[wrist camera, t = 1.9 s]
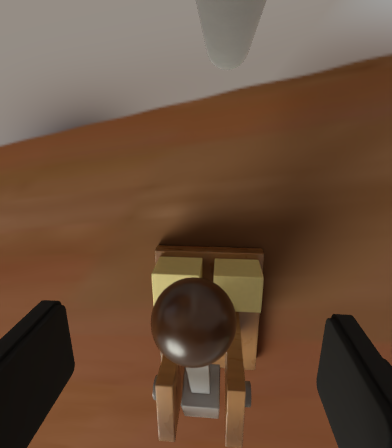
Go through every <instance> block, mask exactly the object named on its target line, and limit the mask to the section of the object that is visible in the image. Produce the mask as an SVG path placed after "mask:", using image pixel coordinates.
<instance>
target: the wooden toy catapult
mask: <svg viewBox="0 0 392 448" xmlns="http://www.w3.org/2000/svg"><path fill="white" fill-rule="evenodd" d="M159 257H189V258H202V278H203V279H207V280H210V281H212V282H213V278H214V261H215V258H218V259H248V260H259V263H260V266H261V270H262V274H263V263H264V252H263V249H262V248H233V247H200V246H166V245H158V246H157V248H156V250H155V262H156V263H157V261H158V259H159ZM259 315H260V313H255V312H236V319H237V325H236V333H235V336H234V339H233V342H232V344H231V346H230V348H229V349H228V350H227V352H226V353H225V354H224V355H223V356H222V357H221V358H220V359H219V360H217V361H216V362H214V363H212V364H219V365H220V368H225V446H226V447H235V448H242V443H243V428H244V413H245V407H251V384H250V381H245V375H244V369H247V370H255V366H256V353H257V340H258V327H259ZM184 368H185V367H183V366H180V365H177V364H175V363H173V362H172V361H170V360H169V359H168V358H166V357H165V356H164V355H163V354H162V353H161V365H160V368H159V372H158V375H156V377H155V380H154V385H153V399H154V400H156V405H157V420H158V435H159V440H160V441H171V442H174V441H175V438H176V431H177V424H178V418H179V411H180V405H181V398H182V389H183V378H184Z"/></svg>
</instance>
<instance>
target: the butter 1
mask: <svg viewBox="0 0 392 448" xmlns="http://www.w3.org/2000/svg"><path fill="white" fill-rule="evenodd" d="M191 277H198V278H202V258H189V257H159V259H158V261H157V263H156V265H155V268H154V270H153V272H152V290H153V306H154V305H155V302H156V300H157V299H158V297H159V295H160V294H161V293H162V292H163V291H164V290H165V289H166V288H167V287H168V286H169V285H171V284H172V283H174V282H176V281H178V280H181V279H184V278H191Z"/></svg>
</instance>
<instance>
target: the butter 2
mask: <svg viewBox="0 0 392 448" xmlns="http://www.w3.org/2000/svg"><path fill="white" fill-rule="evenodd" d="M263 281H264V278H263V274H262V270H261V266H260V263H259V260H248V259H218V258H215V261H214V278H213V282H214V283H215V284H217V285H219V286H220V287H221V288H222V289H223V290H224V291H225V292H226V293H227V295H228V296H229V298H230V299H231V301H232V303H233V306H234V308H235V312H255V313H261V306H262V293H263Z"/></svg>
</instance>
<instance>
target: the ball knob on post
mask: <svg viewBox="0 0 392 448" xmlns="http://www.w3.org/2000/svg"><path fill="white" fill-rule="evenodd" d="M236 325H237V319H236V312H235V308H234V306H233V303H232V301H231V299H230V298H229V296H228V295H227V293H226V292H225V291H224V290H223V289H222V288H221V287H220V286H219V285H217V284H215V283H214V282H212V281H210V280H207V279H203V278H198V277H191V278H184V279H181V280H178V281H176V282H174V283H172V284H171V285H169V286H168V287H167V288H166V289H165V290H164V291H163V292H162V293H161V294H160V295H159V297H158V299H157V300H156V302H155V305H154V307H153V310H152V315H151V330H152V335H153V338H154V341H155V343H156V345H157V347H158V348H159V350H160V351H161V353H162V354H163V355H164V356H165V357H166V358H168V359H169V360H170V361H172V362H173V363H175V364H177V365H180V366H183V367H185V368H184V378H183V389H182V399H181V407H182V410H183V412H184V415H185V416H193V417H205V418H219V403H220V365H219V364H212V363H214V362H216V361H217V360H219V359H220V358H221V357H222V356H223V355H224V354H225V353H226V352H227V350H228V349H229V348H230V346H231V344H232V342H233V339H234V336H235V333H236Z"/></svg>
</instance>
